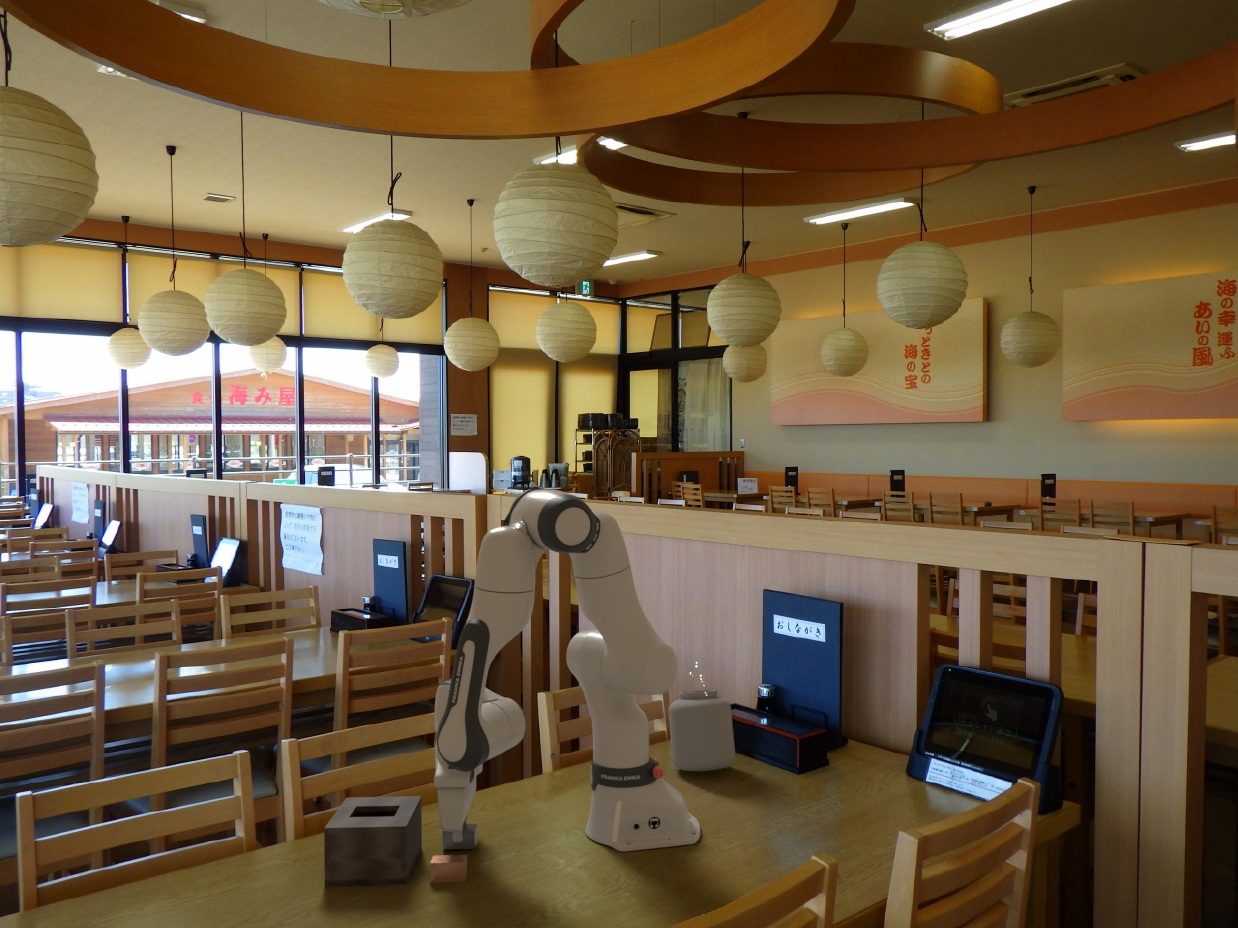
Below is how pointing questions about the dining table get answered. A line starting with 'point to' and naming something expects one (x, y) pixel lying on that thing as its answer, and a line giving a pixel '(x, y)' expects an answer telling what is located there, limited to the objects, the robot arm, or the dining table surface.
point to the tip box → (373, 841)
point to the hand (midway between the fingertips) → (460, 835)
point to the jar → (701, 731)
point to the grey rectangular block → (467, 841)
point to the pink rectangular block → (448, 868)
